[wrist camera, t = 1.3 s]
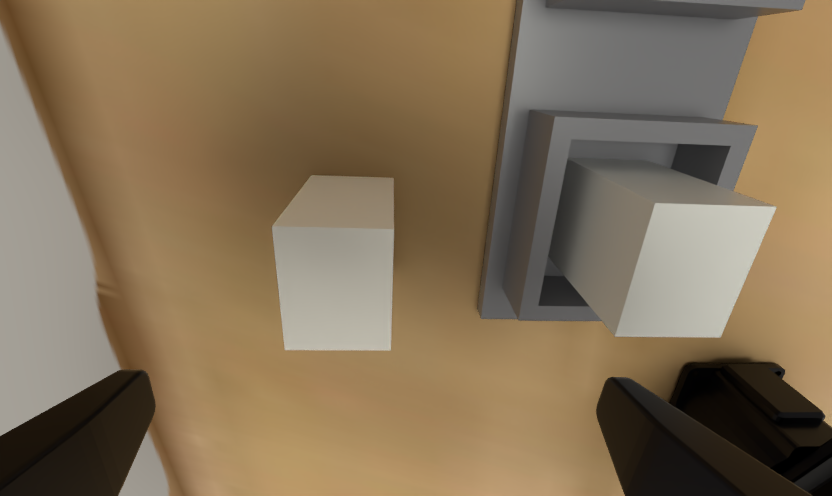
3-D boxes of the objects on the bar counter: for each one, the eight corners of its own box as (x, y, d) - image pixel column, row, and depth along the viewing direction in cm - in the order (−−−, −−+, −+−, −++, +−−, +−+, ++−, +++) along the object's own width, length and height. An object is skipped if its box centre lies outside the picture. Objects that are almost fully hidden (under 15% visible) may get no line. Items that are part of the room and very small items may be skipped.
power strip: (643, 310, 24) (689, 354, 20) (477, 309, 23) (493, 354, 19) (862, -359, 13) (1040, -521, 10) (567, -398, 13) (639, -589, 9)
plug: (391, 268, 22) (390, 350, 15) (316, 266, 22) (285, 349, 15) (393, 177, 20) (393, 229, 13) (311, 175, 20) (271, 226, 13)
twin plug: (620, 256, 21) (720, 337, 15) (546, 254, 21) (615, 336, 14) (647, 160, 19) (776, 206, 13) (565, 157, 19) (654, 203, 12)
